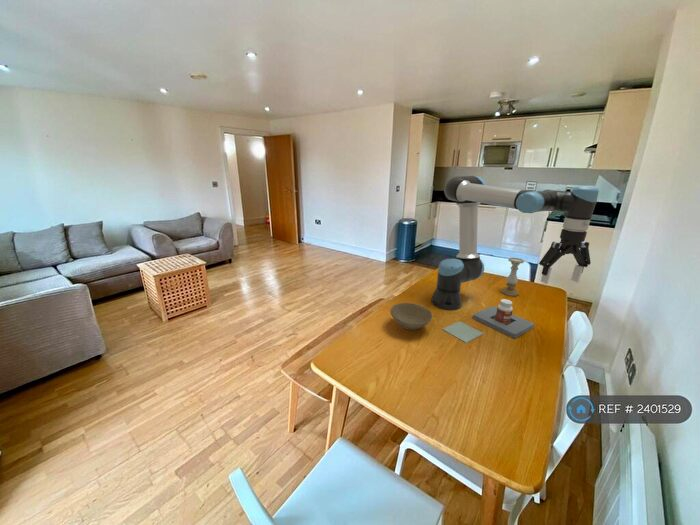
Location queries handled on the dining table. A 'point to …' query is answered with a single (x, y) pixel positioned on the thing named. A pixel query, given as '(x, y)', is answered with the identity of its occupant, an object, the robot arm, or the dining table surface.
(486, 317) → the socket block
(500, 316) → the pill bottle
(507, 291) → the candle holder
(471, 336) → the mat
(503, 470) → the dining table surface
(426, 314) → the bowl
